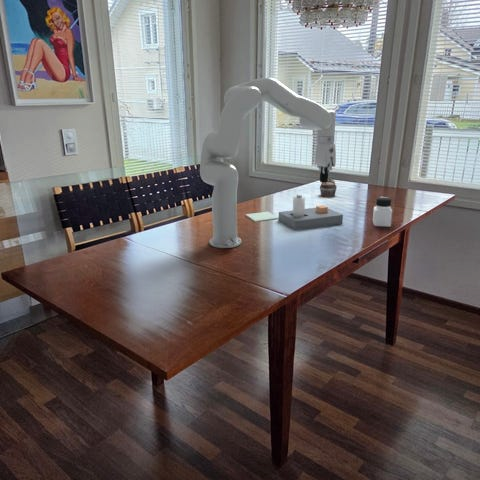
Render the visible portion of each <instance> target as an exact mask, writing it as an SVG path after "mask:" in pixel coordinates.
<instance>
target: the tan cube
mask: <svg viewBox="0 0 480 480" xmlns="http://www.w3.org/2000/svg"><path fill="white" fill-rule="evenodd" d="M315 208H316V212H317V213H320V214H322V213H328V209H329V207H328V206H327V205H324V204H322V205H316V206H315Z"/></svg>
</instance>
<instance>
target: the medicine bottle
mask: <svg viewBox="0 0 480 480" xmlns="http://www.w3.org/2000/svg"><path fill="white" fill-rule="evenodd" d="M375 202H376V204H375V206H373V213H372V224H373V226H374V227H390V228H391V227H392V222H393V221H392V220H393V213H394V212H393V210H392V199H391V198H390V197H386V196H380V197H377V198H376V201H375Z"/></svg>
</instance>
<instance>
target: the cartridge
mask: <svg viewBox="0 0 480 480" xmlns="http://www.w3.org/2000/svg"><path fill="white" fill-rule="evenodd" d="M305 207H306V197H305V196H303V195H302V194H296V195H295V196H293V198H292V210H293V216H294V217H295V218H296V217H304V215H305V209H306V208H305Z"/></svg>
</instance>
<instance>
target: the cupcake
mask: <svg viewBox="0 0 480 480" xmlns="http://www.w3.org/2000/svg"><path fill="white" fill-rule="evenodd" d="M319 191H320V196H321V197H325V198H333V197H335V196H336V192H337V185H336V180H335V179H334V178H332V177H328V182H323V183H322V182H320V186H319Z"/></svg>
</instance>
